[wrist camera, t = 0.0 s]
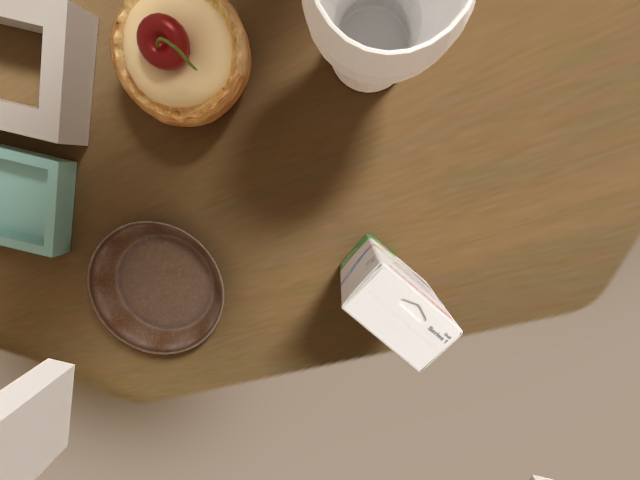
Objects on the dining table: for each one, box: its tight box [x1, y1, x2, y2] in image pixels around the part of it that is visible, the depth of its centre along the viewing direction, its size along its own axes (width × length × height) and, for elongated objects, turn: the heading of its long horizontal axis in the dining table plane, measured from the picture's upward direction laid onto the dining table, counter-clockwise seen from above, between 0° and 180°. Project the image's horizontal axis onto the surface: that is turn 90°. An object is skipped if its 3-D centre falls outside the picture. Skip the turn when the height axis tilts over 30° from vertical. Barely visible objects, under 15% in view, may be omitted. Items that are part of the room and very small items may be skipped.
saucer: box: [87, 221, 224, 355], centre depth 38 cm, size 15×15×3 cm
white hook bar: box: [0, 0, 99, 146], centre depth 33 cm, size 12×14×5 cm
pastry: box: [110, 0, 251, 127], centre depth 30 cm, size 12×12×9 cm
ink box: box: [340, 234, 463, 372], centre depth 32 cm, size 8×5×12 cm, turn 50°
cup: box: [302, 0, 476, 93], centre depth 26 cm, size 11×11×15 cm
